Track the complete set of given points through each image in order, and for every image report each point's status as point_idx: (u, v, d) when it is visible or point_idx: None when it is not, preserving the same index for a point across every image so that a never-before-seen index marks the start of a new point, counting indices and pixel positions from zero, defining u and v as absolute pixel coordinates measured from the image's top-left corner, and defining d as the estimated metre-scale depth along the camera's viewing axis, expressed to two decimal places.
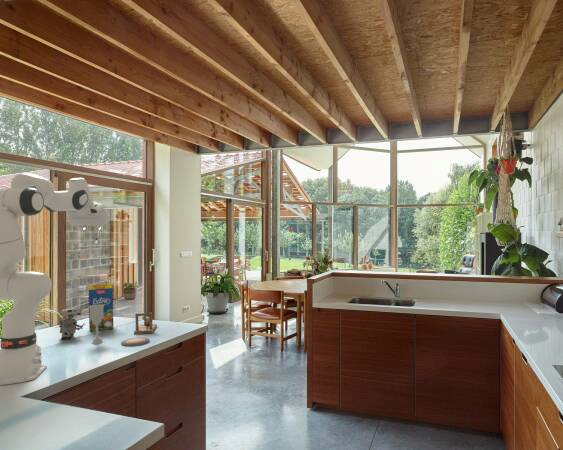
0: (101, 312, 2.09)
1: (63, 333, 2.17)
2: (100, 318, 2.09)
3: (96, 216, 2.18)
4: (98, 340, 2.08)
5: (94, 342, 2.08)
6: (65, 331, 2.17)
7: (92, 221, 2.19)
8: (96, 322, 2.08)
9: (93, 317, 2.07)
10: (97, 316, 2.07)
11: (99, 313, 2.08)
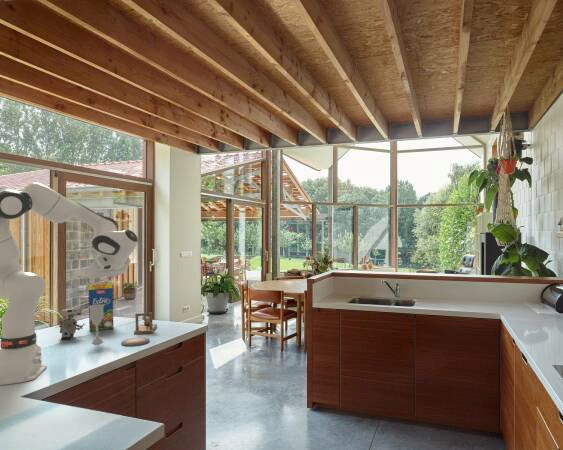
0: (101, 312, 2.09)
1: (63, 333, 2.17)
2: (100, 318, 2.09)
3: None
4: (98, 340, 2.08)
5: (94, 342, 2.08)
6: (65, 331, 2.17)
7: None
8: (96, 322, 2.08)
9: (93, 317, 2.07)
10: (97, 316, 2.07)
11: (99, 313, 2.08)
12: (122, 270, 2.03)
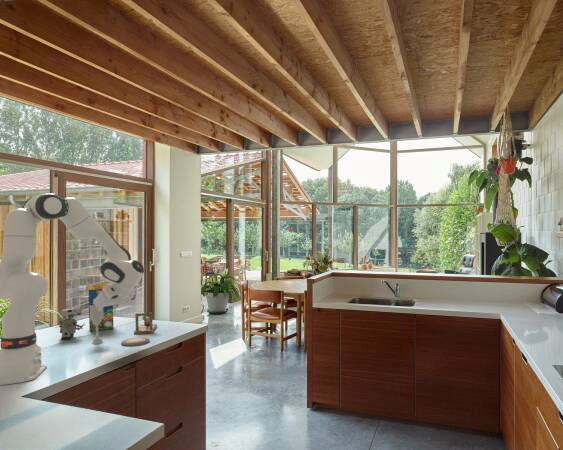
0: (101, 312, 2.09)
1: (63, 333, 2.17)
2: (100, 318, 2.09)
3: None
4: (98, 340, 2.08)
5: (94, 342, 2.08)
6: (65, 331, 2.17)
7: None
8: (96, 322, 2.08)
9: (93, 317, 2.07)
10: (97, 316, 2.07)
11: (99, 313, 2.08)
12: (129, 298, 2.10)
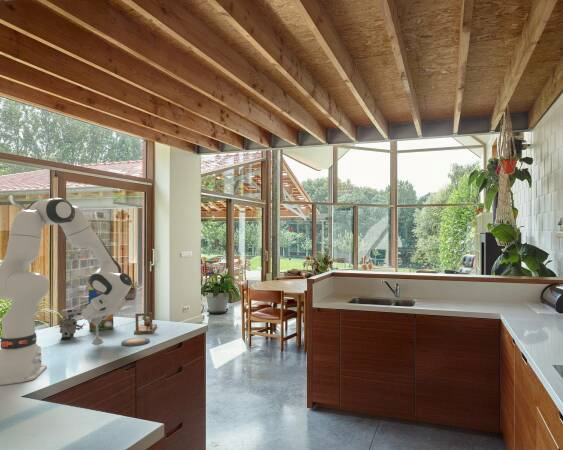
0: None
1: (63, 333, 2.17)
2: (100, 318, 2.09)
3: None
4: (98, 340, 2.08)
5: (94, 342, 2.08)
6: (65, 331, 2.17)
7: None
8: (96, 322, 2.08)
9: None
10: None
11: None
12: (117, 309, 2.14)
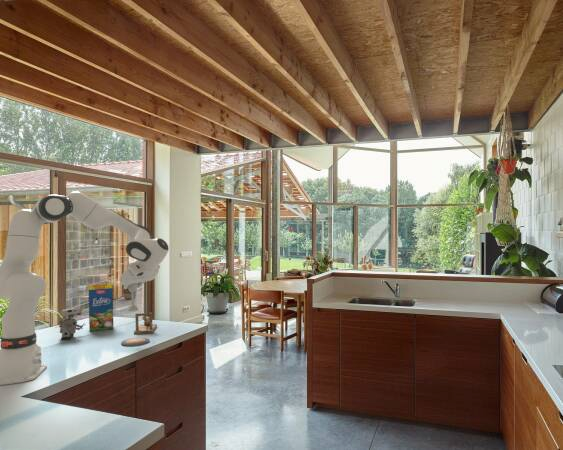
0: None
1: (63, 333, 2.17)
2: (136, 285, 2.08)
3: None
4: (134, 307, 2.07)
5: (130, 309, 2.07)
6: (65, 331, 2.17)
7: None
8: (132, 290, 2.07)
9: None
10: None
11: None
12: (152, 276, 2.12)
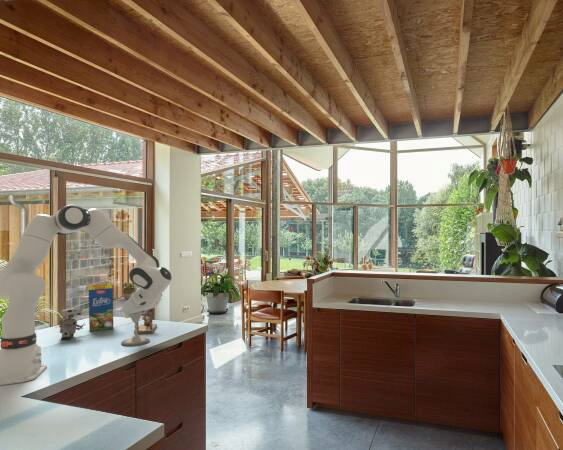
0: None
1: (63, 333, 2.17)
2: (139, 316, 2.08)
3: None
4: (137, 338, 2.07)
5: (133, 340, 2.07)
6: (65, 331, 2.17)
7: None
8: (135, 320, 2.07)
9: (133, 314, 2.06)
10: (136, 313, 2.06)
11: None
12: (155, 304, 2.12)
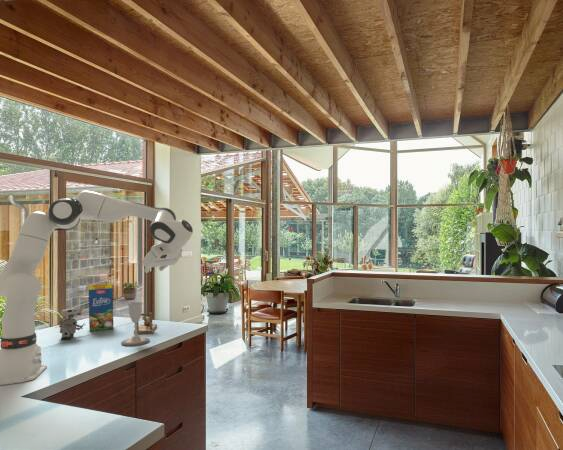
0: (140, 310, 2.08)
1: (63, 333, 2.17)
2: (139, 316, 2.08)
3: None
4: (137, 338, 2.07)
5: (133, 340, 2.07)
6: (65, 331, 2.17)
7: None
8: (135, 320, 2.07)
9: (133, 315, 2.06)
10: (136, 314, 2.06)
11: (138, 311, 2.07)
12: (174, 260, 2.06)
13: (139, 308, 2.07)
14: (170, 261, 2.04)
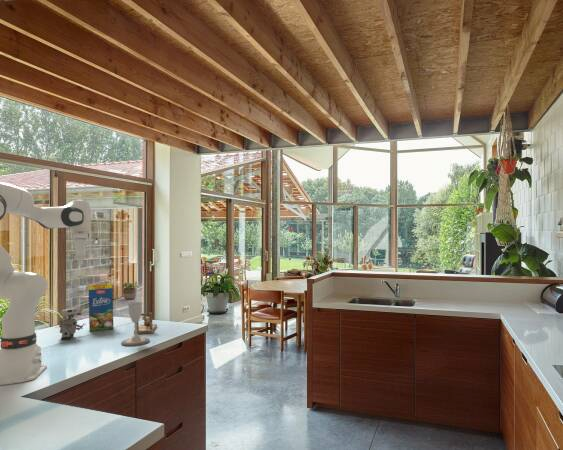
0: (140, 310, 2.08)
1: (63, 333, 2.17)
2: (139, 316, 2.08)
3: None
4: (137, 338, 2.07)
5: (133, 340, 2.07)
6: (65, 331, 2.17)
7: None
8: (135, 320, 2.07)
9: (133, 315, 2.06)
10: (136, 314, 2.06)
11: (138, 311, 2.07)
12: None
13: (139, 308, 2.07)
14: None
